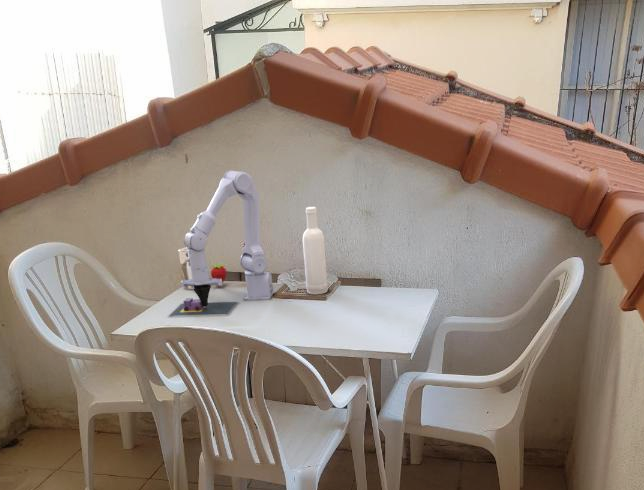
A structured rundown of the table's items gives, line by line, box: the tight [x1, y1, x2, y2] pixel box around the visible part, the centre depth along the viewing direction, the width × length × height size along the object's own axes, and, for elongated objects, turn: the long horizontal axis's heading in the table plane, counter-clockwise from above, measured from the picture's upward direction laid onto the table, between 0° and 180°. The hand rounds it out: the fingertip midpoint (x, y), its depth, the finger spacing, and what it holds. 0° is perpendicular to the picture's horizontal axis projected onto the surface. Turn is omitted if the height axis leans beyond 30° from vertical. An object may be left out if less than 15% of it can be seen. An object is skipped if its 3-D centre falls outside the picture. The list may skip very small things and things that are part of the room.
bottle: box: [302, 206, 329, 295], centre depth 250 cm, size 8×8×30 cm
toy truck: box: [182, 297, 204, 311], centre depth 247 cm, size 6×5×3 cm
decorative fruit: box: [210, 261, 227, 284], centre depth 271 cm, size 6×8×10 cm
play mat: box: [169, 301, 238, 317], centre depth 247 cm, size 21×14×1 cm, turn 82°
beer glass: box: [178, 246, 194, 290], centre depth 272 cm, size 7×7×15 cm
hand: (205, 305), depth 247 cm, fingers closed
